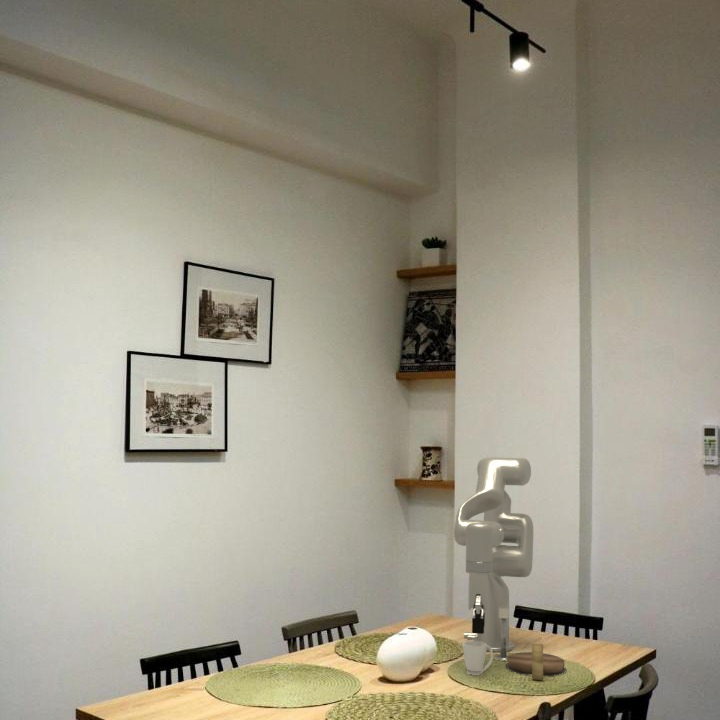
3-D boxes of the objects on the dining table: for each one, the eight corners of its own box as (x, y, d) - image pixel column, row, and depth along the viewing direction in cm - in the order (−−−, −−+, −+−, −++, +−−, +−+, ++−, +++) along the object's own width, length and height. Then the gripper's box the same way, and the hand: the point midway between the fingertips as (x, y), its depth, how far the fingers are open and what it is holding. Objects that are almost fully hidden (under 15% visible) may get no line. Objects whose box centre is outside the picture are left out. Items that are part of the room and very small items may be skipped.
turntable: (507, 657, 253) (507, 626, 254) (562, 661, 250) (562, 629, 251) (507, 677, 232) (507, 643, 232) (568, 681, 229) (568, 647, 230)
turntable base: (505, 674, 237) (505, 673, 237) (505, 658, 253) (505, 657, 253) (568, 678, 234) (568, 677, 234) (563, 662, 251) (563, 661, 251)
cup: (456, 671, 239) (456, 642, 239) (484, 667, 244) (484, 638, 245) (472, 677, 233) (472, 647, 233) (500, 673, 238) (500, 643, 239)
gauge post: (495, 660, 251) (495, 608, 252) (495, 656, 256) (495, 605, 257) (512, 661, 250) (512, 609, 251) (512, 657, 255) (512, 606, 256)
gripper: (466, 563, 250) (466, 623, 248) (464, 570, 233) (463, 635, 231) (492, 564, 249) (492, 625, 246) (492, 571, 232) (491, 636, 230)
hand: (478, 629), depth 239 cm, fingers open, 9 cm apart
